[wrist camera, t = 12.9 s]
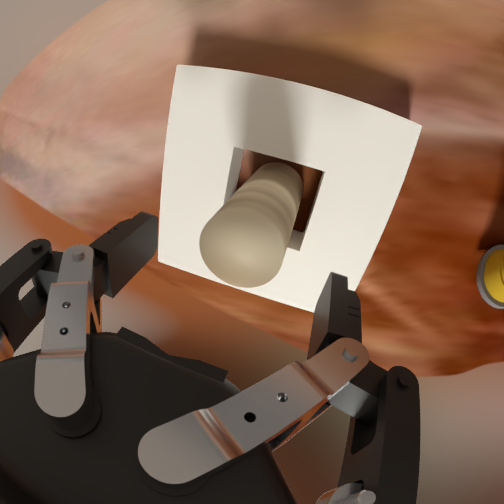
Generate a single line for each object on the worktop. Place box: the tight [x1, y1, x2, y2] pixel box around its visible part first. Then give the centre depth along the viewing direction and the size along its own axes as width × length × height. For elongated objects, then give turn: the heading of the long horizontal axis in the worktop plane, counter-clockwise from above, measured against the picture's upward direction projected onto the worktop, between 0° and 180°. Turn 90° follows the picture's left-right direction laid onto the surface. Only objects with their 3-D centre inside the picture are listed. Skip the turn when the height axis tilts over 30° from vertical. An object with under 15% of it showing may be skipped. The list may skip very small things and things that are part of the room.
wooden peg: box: [199, 162, 303, 288], centre depth 18 cm, size 4×4×10 cm
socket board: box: [158, 65, 422, 312], centre depth 21 cm, size 16×16×3 cm
